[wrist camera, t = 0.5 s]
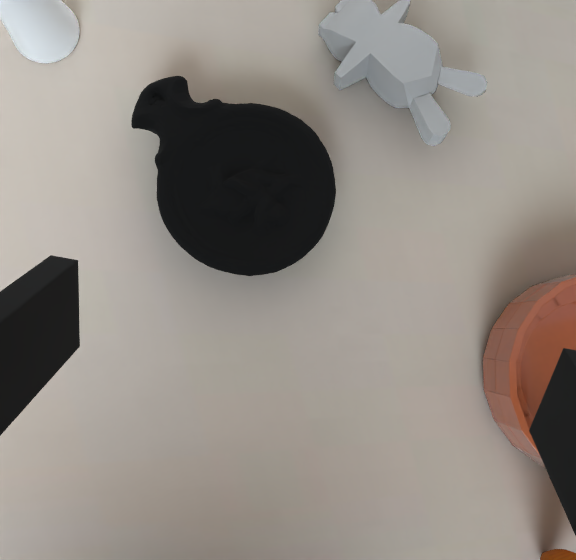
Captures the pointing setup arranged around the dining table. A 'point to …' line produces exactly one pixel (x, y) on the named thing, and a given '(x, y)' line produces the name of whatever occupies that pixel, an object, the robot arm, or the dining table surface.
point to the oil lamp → (236, 179)
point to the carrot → (558, 555)
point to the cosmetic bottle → (40, 28)
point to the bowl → (528, 356)
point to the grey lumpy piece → (394, 62)
